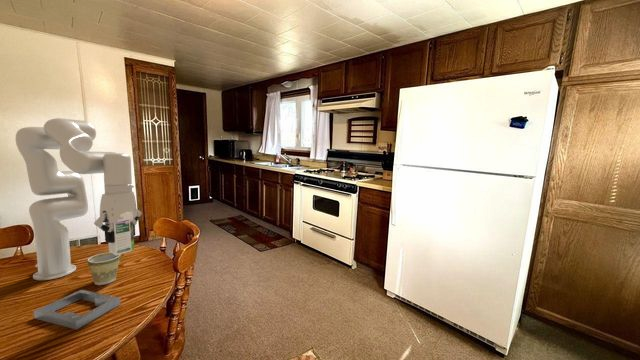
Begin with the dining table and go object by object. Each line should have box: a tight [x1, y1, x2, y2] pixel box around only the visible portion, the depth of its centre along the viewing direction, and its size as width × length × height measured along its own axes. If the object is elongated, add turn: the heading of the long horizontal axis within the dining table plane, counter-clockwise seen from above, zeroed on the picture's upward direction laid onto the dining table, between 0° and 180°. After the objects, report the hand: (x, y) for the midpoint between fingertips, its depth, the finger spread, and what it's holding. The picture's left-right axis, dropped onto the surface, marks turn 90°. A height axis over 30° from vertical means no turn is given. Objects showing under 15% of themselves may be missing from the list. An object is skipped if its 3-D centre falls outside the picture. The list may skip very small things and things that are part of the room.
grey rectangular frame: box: [33, 289, 121, 330], centre depth 84 cm, size 18×13×2 cm
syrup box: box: [108, 211, 135, 256], centre depth 91 cm, size 6×6×14 cm
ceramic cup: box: [87, 251, 125, 286], centre depth 104 cm, size 13×10×10 cm
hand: (120, 238), depth 91 cm, fingers closed on syrup box, 6 cm apart
